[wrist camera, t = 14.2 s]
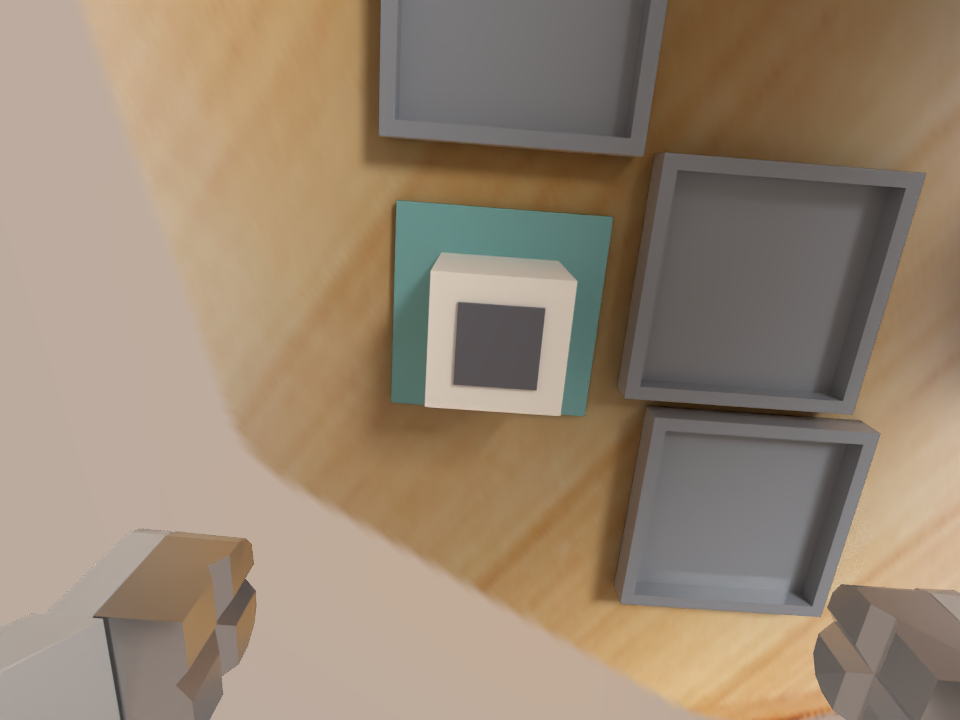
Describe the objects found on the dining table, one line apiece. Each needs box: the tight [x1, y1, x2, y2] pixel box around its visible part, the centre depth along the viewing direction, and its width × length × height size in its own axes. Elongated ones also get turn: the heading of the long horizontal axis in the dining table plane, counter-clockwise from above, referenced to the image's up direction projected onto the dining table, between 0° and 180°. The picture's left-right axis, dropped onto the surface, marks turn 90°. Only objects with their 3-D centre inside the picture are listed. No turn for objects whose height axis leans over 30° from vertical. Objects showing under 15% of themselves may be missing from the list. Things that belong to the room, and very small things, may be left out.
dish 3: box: [614, 405, 881, 617], centre depth 27 cm, size 10×10×1 cm
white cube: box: [425, 252, 577, 416], centre depth 22 cm, size 5×5×5 cm
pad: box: [391, 200, 613, 416], centre depth 25 cm, size 9×9×1 cm
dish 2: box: [617, 152, 926, 415], centre depth 24 cm, size 10×10×1 cm
